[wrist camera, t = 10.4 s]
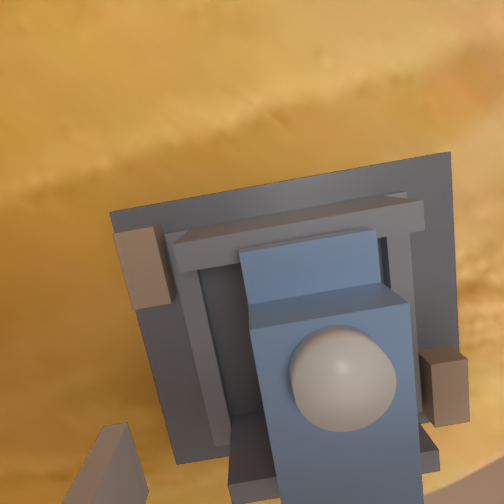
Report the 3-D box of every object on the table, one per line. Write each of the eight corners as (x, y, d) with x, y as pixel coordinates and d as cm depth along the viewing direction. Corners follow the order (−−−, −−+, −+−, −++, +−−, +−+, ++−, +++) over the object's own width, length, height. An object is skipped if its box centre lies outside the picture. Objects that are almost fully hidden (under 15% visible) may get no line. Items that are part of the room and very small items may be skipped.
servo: (274, 421, 20) (299, 607, 11) (240, 229, 18) (237, 278, 9) (355, 408, 20) (443, 585, 11) (332, 213, 18) (422, 246, 9)
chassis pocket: (179, 452, 22) (157, 544, 16) (116, 210, 18) (61, 223, 13) (451, 406, 21) (523, 483, 16) (439, 153, 18) (525, 140, 12)
